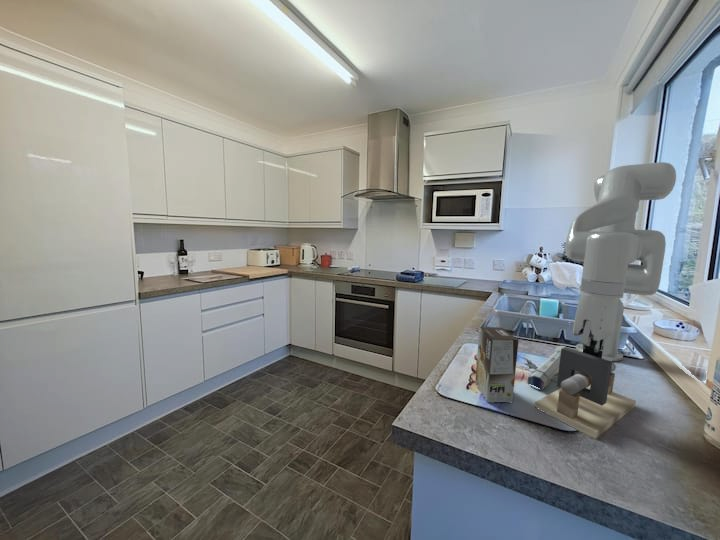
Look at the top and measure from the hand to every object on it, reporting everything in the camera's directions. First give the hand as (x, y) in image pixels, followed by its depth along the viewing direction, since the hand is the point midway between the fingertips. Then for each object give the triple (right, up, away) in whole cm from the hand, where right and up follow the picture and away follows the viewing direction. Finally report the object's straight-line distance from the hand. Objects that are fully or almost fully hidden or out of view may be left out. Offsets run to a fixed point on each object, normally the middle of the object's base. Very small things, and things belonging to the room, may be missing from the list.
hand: (590, 365), depth 68 cm
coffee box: (-20, -10, +7) cm, 23 cm away
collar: (-3, -6, -1) cm, 7 cm away
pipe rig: (0, -11, +2) cm, 11 cm away
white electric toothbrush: (+2, -9, +18) cm, 20 cm away
